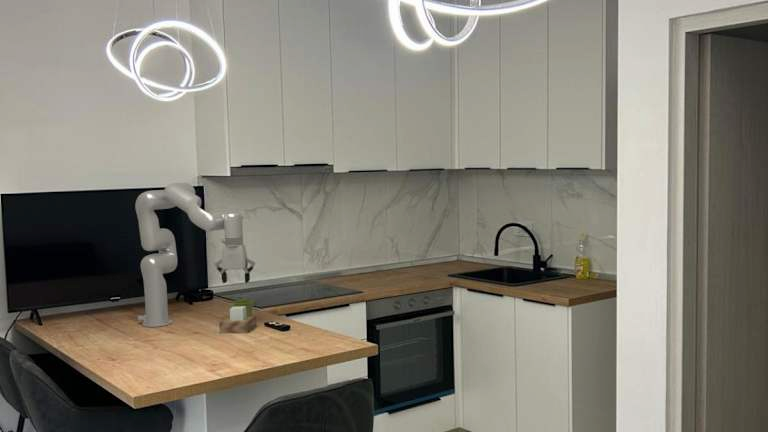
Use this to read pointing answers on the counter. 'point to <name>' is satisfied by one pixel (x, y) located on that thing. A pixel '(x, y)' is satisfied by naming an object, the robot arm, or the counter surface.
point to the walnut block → (237, 325)
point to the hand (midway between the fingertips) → (235, 282)
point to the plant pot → (245, 303)
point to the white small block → (238, 313)
